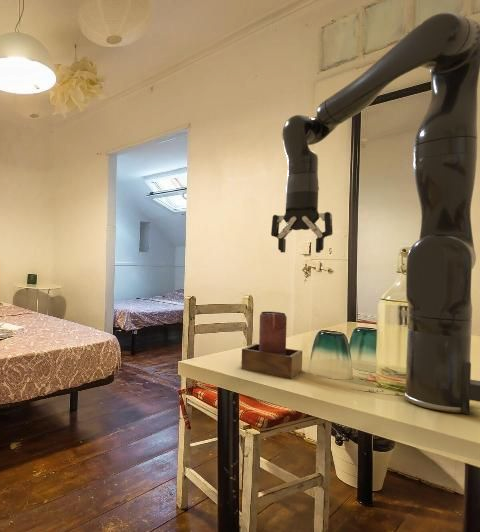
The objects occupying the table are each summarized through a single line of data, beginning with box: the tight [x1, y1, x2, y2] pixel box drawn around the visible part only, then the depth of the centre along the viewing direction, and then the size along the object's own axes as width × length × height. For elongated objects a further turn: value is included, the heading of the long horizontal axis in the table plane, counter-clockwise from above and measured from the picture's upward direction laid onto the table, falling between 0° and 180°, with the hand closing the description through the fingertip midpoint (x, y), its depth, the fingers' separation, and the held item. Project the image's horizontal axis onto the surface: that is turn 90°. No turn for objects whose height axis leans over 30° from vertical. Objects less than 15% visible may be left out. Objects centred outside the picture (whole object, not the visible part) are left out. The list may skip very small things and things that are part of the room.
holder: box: [240, 343, 303, 380], centre depth 100 cm, size 12×10×5 cm
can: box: [258, 311, 288, 356], centre depth 100 cm, size 6×6×14 cm
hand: (300, 252), depth 106 cm, fingers open, 8 cm apart
